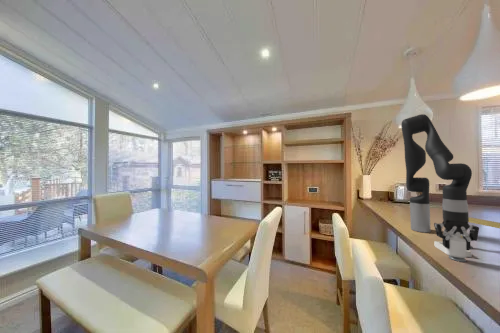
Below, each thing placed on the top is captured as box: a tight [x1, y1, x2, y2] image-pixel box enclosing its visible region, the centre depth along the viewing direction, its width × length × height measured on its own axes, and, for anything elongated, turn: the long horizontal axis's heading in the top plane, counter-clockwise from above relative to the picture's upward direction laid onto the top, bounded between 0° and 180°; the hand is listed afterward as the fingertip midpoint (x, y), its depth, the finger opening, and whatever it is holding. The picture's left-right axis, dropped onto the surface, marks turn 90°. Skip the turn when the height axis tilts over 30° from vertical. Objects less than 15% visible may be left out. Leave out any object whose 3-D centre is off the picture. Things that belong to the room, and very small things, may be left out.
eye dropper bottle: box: [446, 232, 467, 259], centre depth 80 cm, size 4×6×12 cm
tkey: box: [461, 216, 500, 238], centre depth 86 cm, size 18×2×14 cm, turn 11°
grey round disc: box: [448, 255, 467, 263], centre depth 80 cm, size 5×5×1 cm
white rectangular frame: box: [433, 240, 472, 258], centre depth 87 cm, size 10×8×2 cm
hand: (456, 248), depth 80 cm, fingers closed on eye dropper bottle, 5 cm apart
